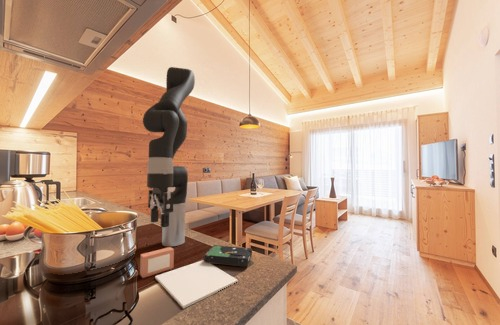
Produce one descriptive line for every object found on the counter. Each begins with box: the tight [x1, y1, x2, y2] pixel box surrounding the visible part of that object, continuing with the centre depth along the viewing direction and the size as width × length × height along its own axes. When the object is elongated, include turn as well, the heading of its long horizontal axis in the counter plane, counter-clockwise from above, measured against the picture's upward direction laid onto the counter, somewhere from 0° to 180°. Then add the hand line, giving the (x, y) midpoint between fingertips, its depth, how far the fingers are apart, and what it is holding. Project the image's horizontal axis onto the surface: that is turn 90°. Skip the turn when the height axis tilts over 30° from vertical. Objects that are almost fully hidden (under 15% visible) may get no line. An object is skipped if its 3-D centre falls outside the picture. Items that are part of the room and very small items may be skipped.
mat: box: [154, 259, 239, 310], centre depth 57 cm, size 18×16×1 cm
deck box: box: [139, 246, 175, 279], centre depth 63 cm, size 9×3×6 cm, turn 134°
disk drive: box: [203, 244, 253, 267], centre depth 71 cm, size 10×3×15 cm
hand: (159, 224), depth 63 cm, fingers open, 8 cm apart
